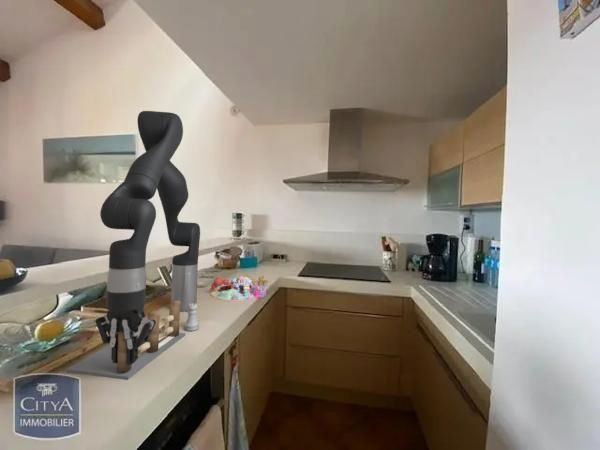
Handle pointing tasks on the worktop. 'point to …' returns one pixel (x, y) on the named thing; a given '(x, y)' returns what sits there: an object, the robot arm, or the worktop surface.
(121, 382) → the worktop surface
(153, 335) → the fixed fence section
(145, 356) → the board
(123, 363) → the swinging fence panel
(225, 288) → the candy landscape model
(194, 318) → the rook chess piece
